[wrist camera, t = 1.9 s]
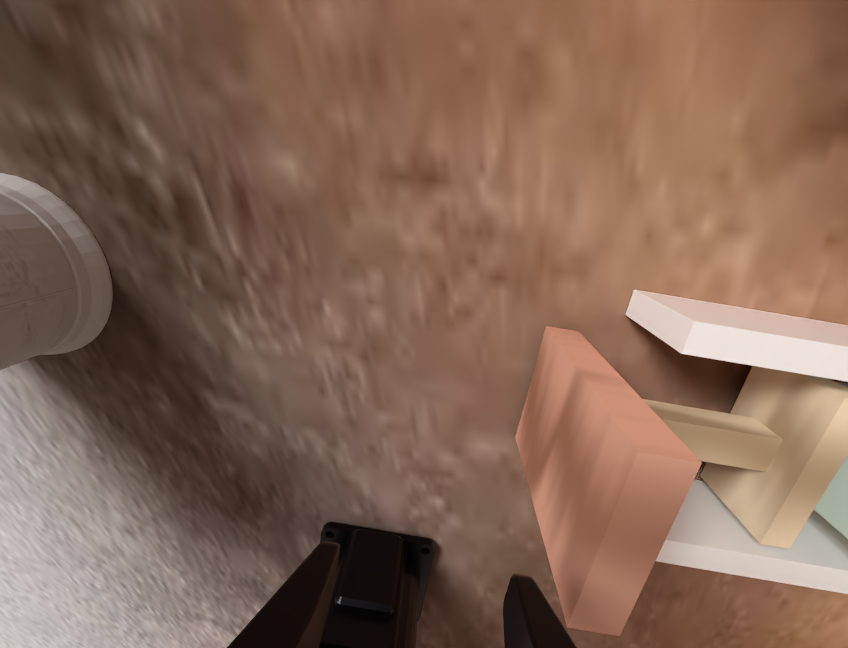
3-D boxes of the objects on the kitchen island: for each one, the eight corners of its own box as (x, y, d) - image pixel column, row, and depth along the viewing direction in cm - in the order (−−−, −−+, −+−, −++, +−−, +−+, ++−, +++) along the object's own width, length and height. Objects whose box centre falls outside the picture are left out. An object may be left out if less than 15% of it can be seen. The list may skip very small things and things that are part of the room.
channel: (886, 531, 21) (1001, 620, 16) (569, 478, 21) (600, 551, 16) (1014, 353, 17) (1200, 406, 13) (634, 289, 17) (694, 321, 13)
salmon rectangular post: (723, 480, 20) (934, 700, 11) (513, 444, 20) (563, 636, 11) (785, 357, 17) (1108, 516, 9) (548, 317, 17) (644, 437, 9)
